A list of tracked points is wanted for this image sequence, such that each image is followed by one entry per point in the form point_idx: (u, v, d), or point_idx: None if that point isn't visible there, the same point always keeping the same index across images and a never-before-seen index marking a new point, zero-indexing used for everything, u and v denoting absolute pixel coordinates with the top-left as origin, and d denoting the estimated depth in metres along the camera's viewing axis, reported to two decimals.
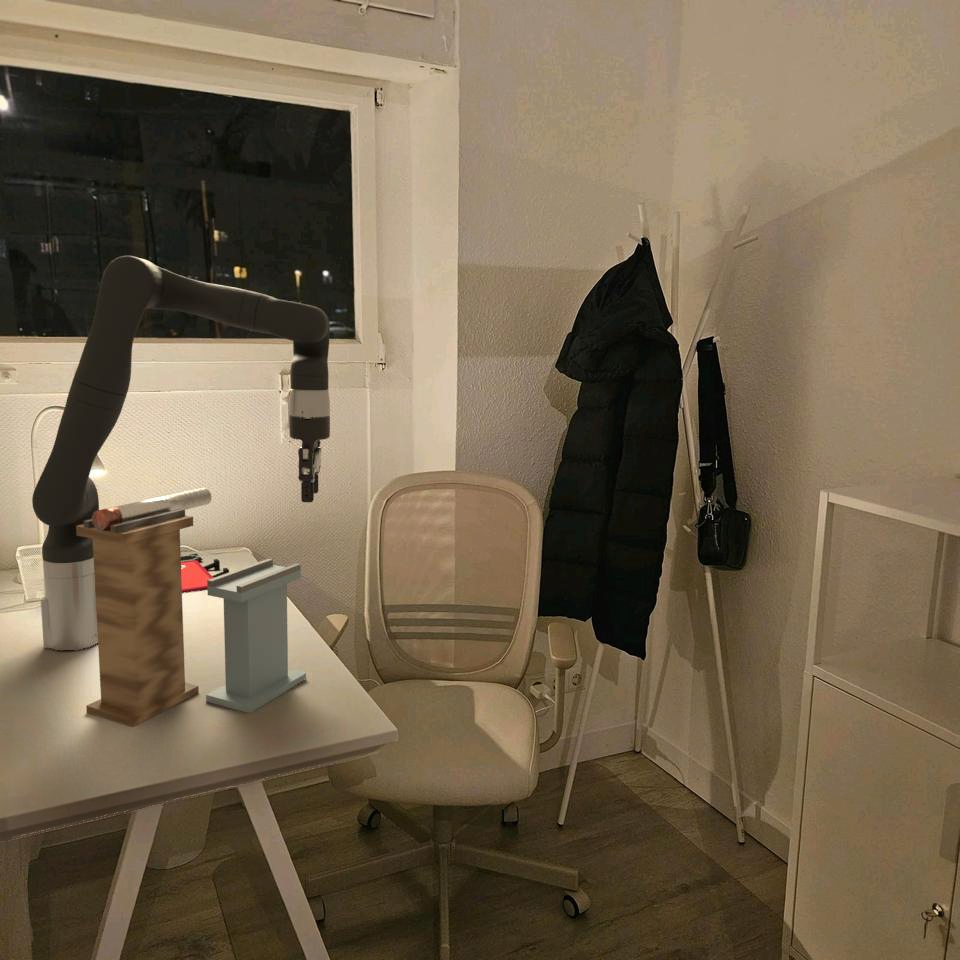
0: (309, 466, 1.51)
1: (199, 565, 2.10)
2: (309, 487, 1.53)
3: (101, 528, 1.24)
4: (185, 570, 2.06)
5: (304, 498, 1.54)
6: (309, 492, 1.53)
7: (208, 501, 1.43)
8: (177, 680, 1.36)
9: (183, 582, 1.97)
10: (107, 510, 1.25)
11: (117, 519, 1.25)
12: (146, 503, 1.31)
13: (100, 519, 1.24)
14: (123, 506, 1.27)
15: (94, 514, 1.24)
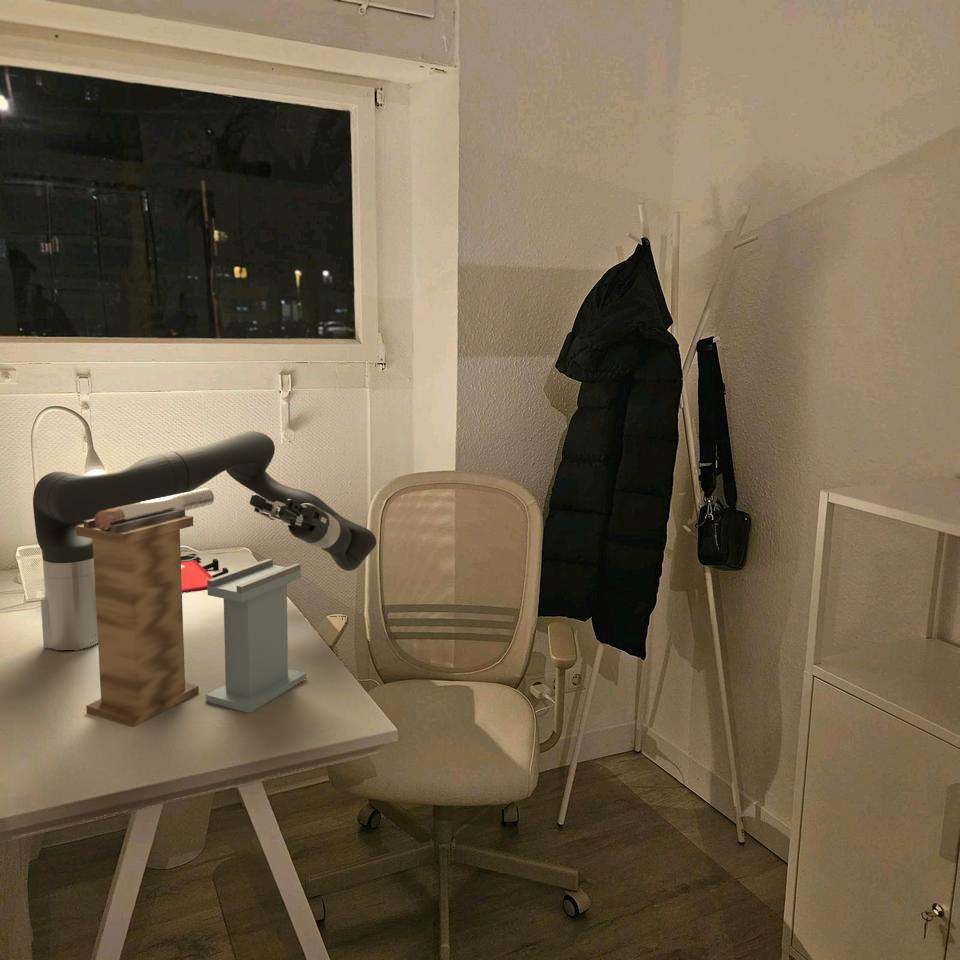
0: (318, 520, 1.62)
1: (198, 565, 2.10)
2: (299, 511, 1.59)
3: (101, 529, 1.24)
4: (184, 570, 2.06)
5: (294, 503, 1.58)
6: (296, 510, 1.59)
7: (209, 504, 1.43)
8: (177, 680, 1.36)
9: (183, 583, 1.97)
10: (112, 512, 1.24)
11: None
12: (150, 506, 1.30)
13: (103, 521, 1.23)
14: (128, 508, 1.27)
15: (98, 513, 1.24)
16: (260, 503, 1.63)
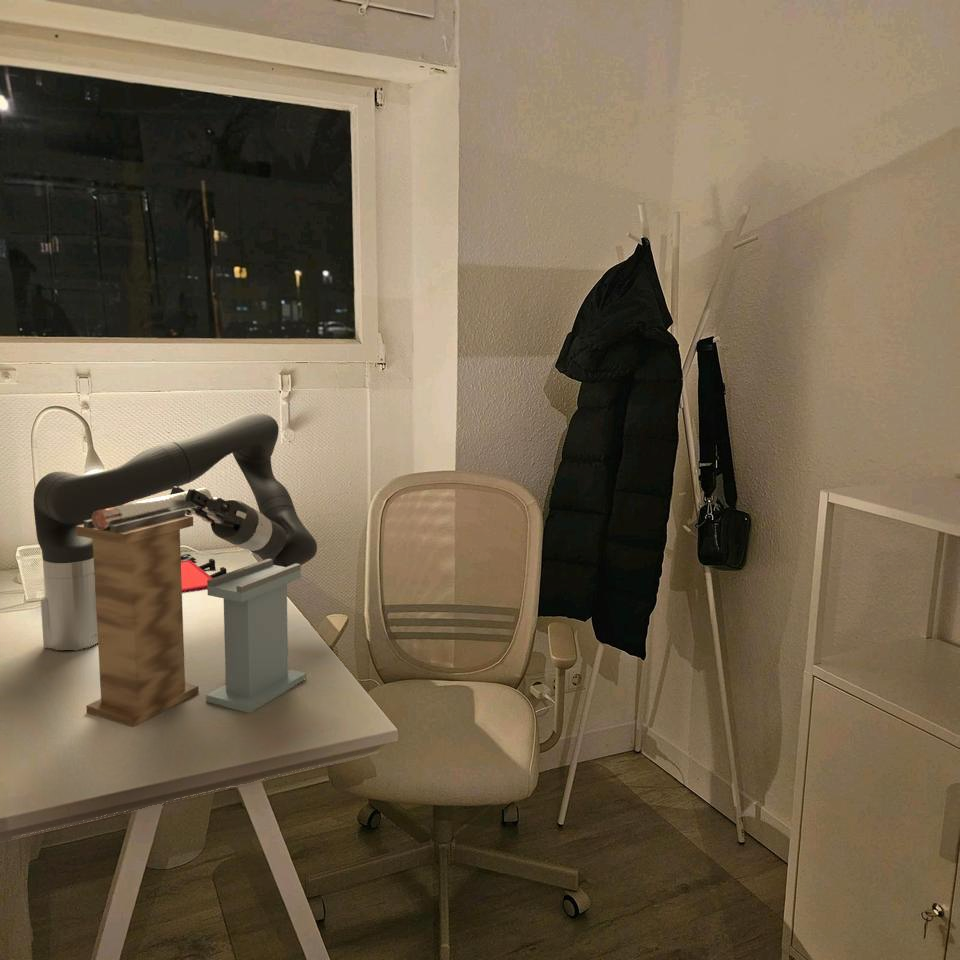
0: (229, 514, 1.42)
1: (194, 565, 2.10)
2: (203, 503, 1.40)
3: (101, 528, 1.24)
4: (181, 570, 2.06)
5: (197, 494, 1.38)
6: (200, 501, 1.39)
7: None
8: (177, 680, 1.36)
9: None
10: (107, 510, 1.24)
11: (117, 519, 1.25)
12: (146, 503, 1.31)
13: (100, 519, 1.24)
14: (122, 506, 1.27)
15: (94, 514, 1.24)
16: None
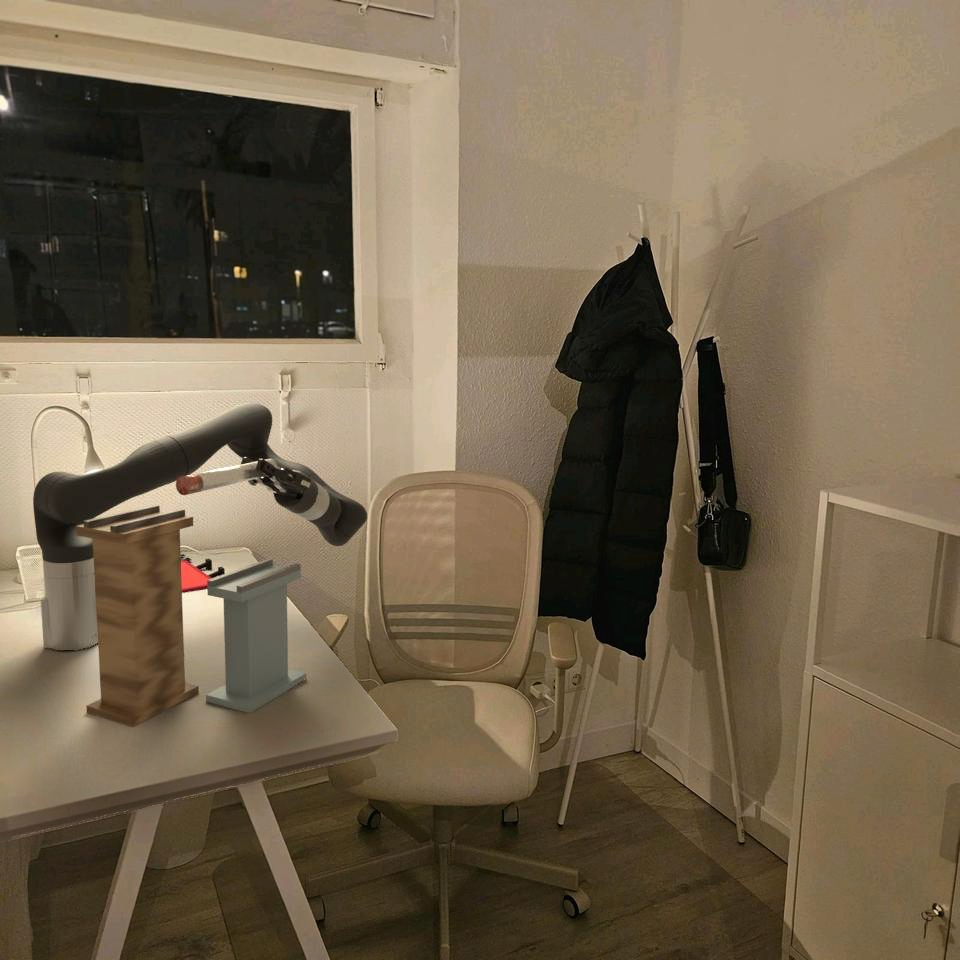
0: (295, 483, 1.50)
1: (191, 565, 2.10)
2: (272, 472, 1.48)
3: (185, 493, 1.32)
4: None
5: (266, 463, 1.47)
6: (269, 471, 1.47)
7: None
8: (177, 680, 1.36)
9: None
10: (190, 476, 1.33)
11: (199, 485, 1.34)
12: (222, 471, 1.39)
13: (184, 485, 1.32)
14: (203, 473, 1.36)
15: (178, 480, 1.33)
16: None
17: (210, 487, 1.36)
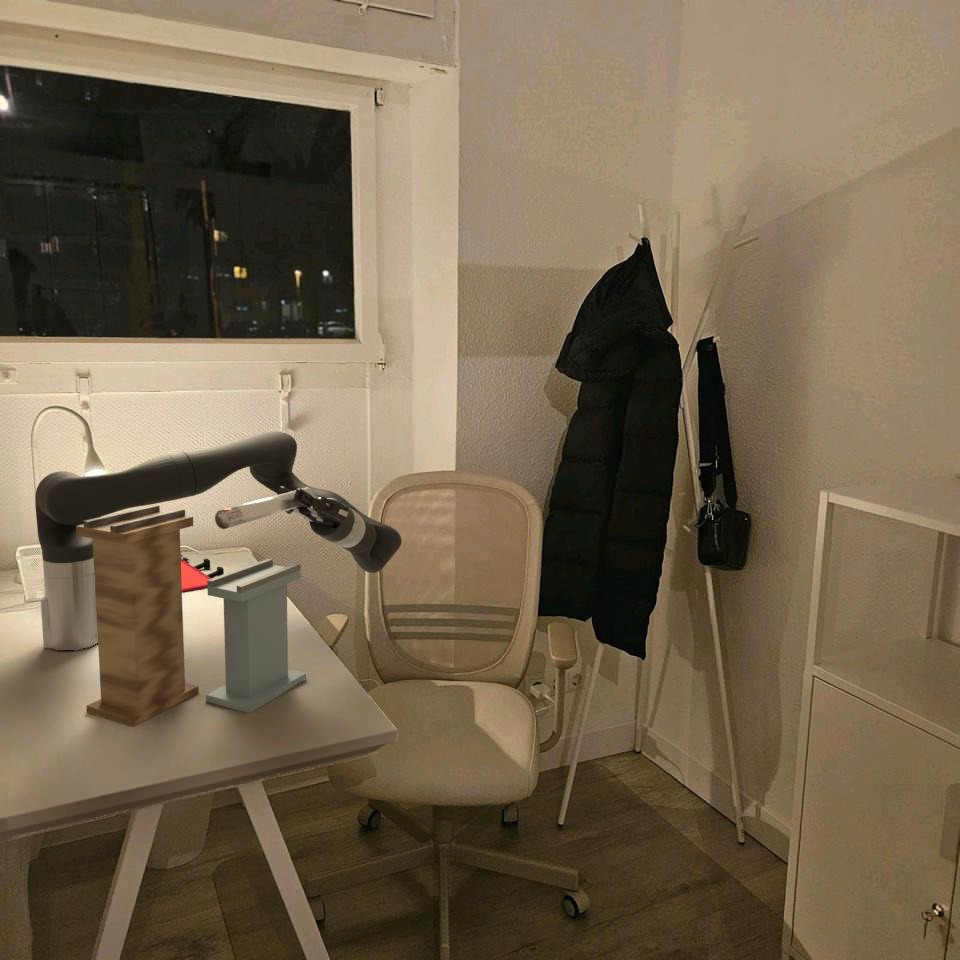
0: (332, 512, 1.47)
1: (189, 565, 2.10)
2: (309, 502, 1.45)
3: (224, 527, 1.29)
4: None
5: (304, 493, 1.44)
6: (307, 500, 1.44)
7: None
8: (177, 680, 1.36)
9: None
10: (230, 509, 1.30)
11: (238, 518, 1.30)
12: (261, 503, 1.36)
13: (224, 519, 1.29)
14: (242, 506, 1.33)
15: (217, 514, 1.30)
16: None
17: (249, 520, 1.33)
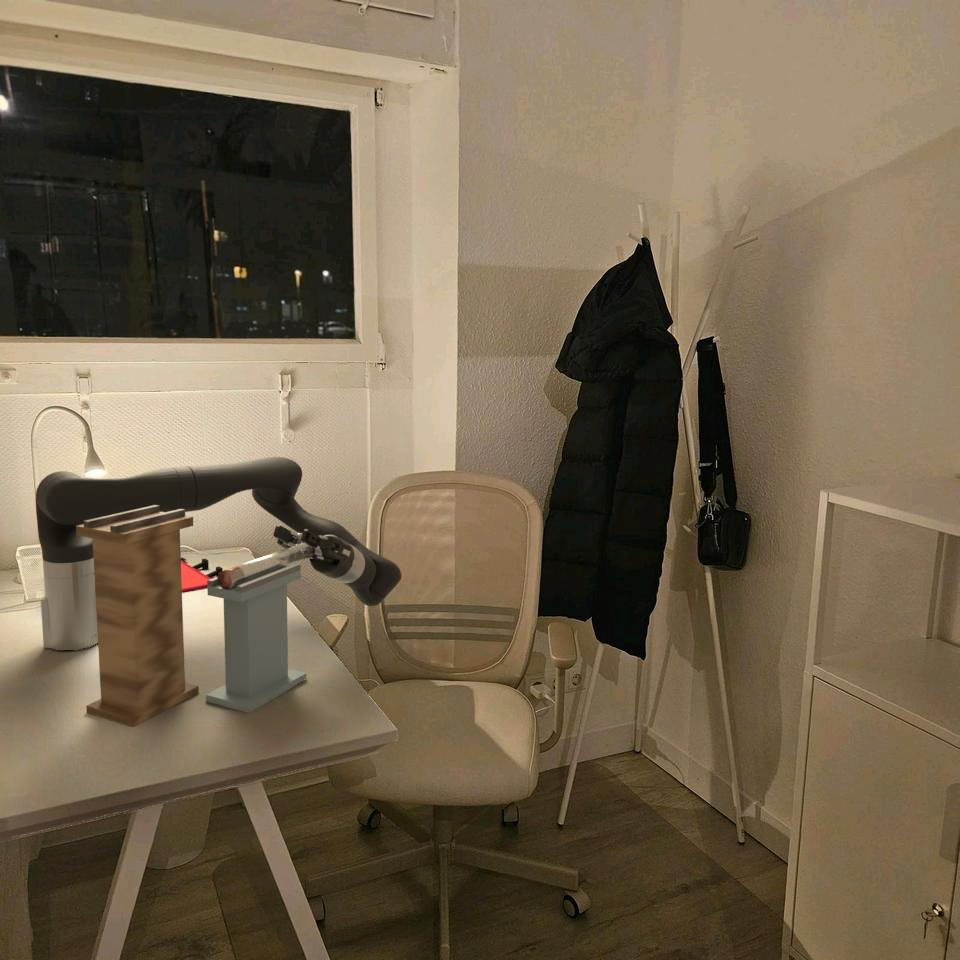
0: (338, 552, 1.49)
1: (187, 565, 2.10)
2: (316, 543, 1.46)
3: (226, 587, 1.31)
4: None
5: (311, 534, 1.45)
6: (314, 541, 1.45)
7: (312, 554, 1.50)
8: (177, 680, 1.36)
9: None
10: (232, 570, 1.32)
11: (240, 578, 1.32)
12: (263, 561, 1.38)
13: (226, 579, 1.31)
14: (244, 565, 1.34)
15: (220, 574, 1.31)
16: (284, 535, 1.48)
17: (251, 579, 1.35)
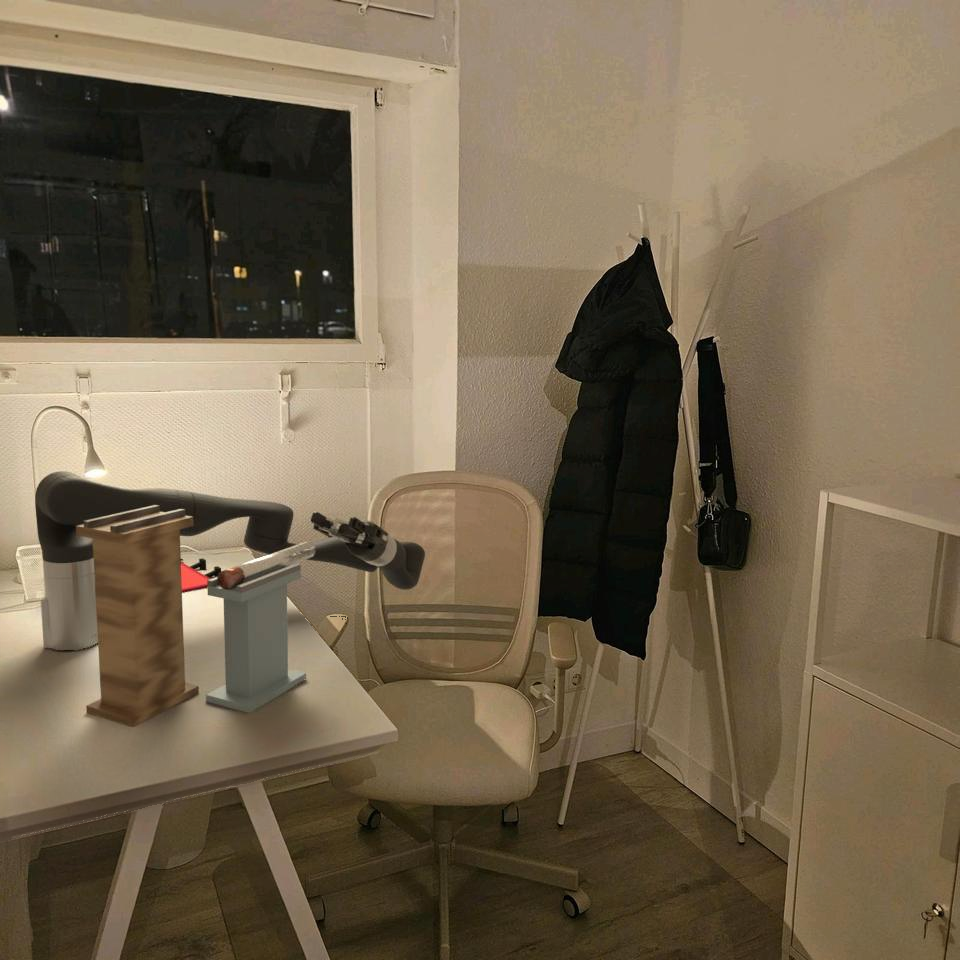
0: (380, 538, 1.60)
1: (184, 565, 2.10)
2: (362, 529, 1.57)
3: (226, 587, 1.31)
4: None
5: (358, 521, 1.55)
6: (360, 528, 1.56)
7: (312, 554, 1.50)
8: (177, 680, 1.36)
9: None
10: (232, 570, 1.32)
11: (240, 578, 1.32)
12: (263, 561, 1.38)
13: (226, 579, 1.31)
14: (244, 565, 1.34)
15: (220, 574, 1.31)
16: (321, 521, 1.60)
17: (251, 579, 1.35)
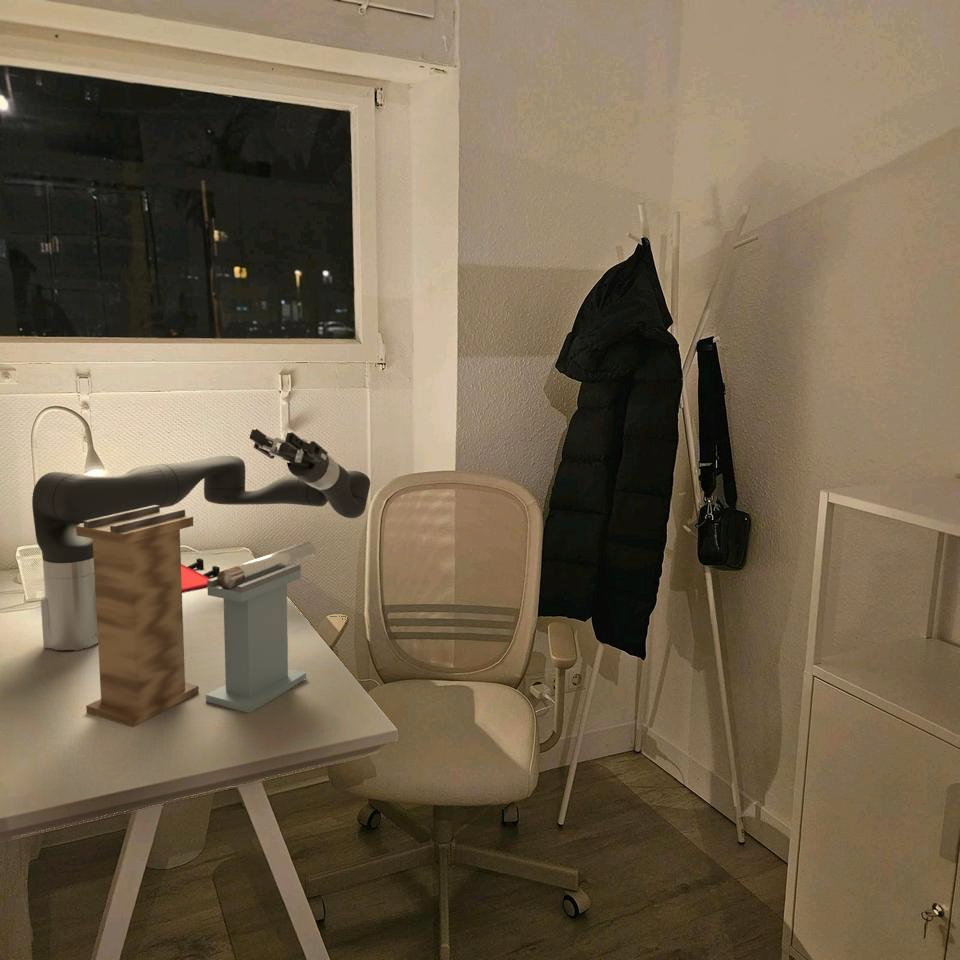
0: (318, 455, 1.62)
1: (182, 565, 2.10)
2: (299, 445, 1.59)
3: (226, 587, 1.31)
4: None
5: (294, 436, 1.57)
6: (297, 443, 1.58)
7: (312, 554, 1.50)
8: (177, 680, 1.36)
9: None
10: (232, 570, 1.32)
11: (240, 578, 1.32)
12: (263, 561, 1.38)
13: (226, 579, 1.31)
14: (244, 565, 1.35)
15: (220, 574, 1.31)
16: (260, 438, 1.62)
17: (251, 579, 1.35)
